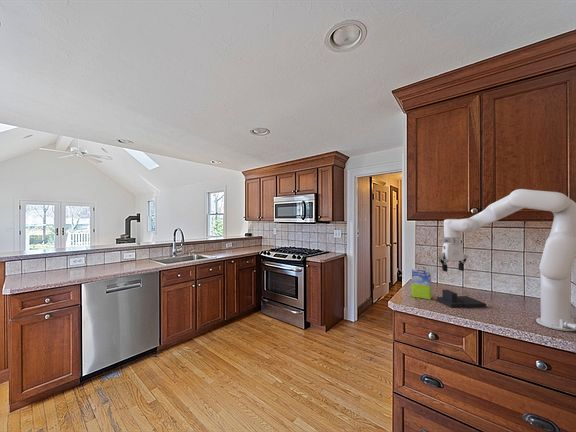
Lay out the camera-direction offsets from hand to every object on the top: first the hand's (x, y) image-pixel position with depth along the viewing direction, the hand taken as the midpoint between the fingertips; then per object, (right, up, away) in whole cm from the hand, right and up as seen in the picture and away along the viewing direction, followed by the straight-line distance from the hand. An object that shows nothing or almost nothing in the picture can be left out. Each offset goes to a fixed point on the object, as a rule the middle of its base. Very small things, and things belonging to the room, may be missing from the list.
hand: (453, 270), depth 146 cm
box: (-12, -19, +12) cm, 26 cm away
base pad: (+8, -19, +1) cm, 21 cm away
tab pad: (0, -19, +1) cm, 19 cm away
